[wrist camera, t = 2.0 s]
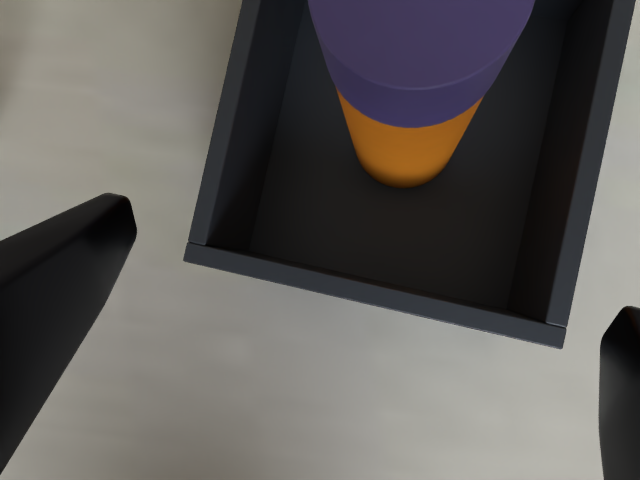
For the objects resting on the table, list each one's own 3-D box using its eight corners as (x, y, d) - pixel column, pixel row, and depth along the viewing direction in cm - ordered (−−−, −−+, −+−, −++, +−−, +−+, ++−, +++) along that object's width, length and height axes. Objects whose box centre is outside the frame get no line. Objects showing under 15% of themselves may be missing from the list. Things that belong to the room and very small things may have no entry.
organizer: (515, 327, 20) (562, 349, 14) (235, 262, 22) (182, 261, 16) (581, 15, 20) (653, -79, 15) (300, -26, 22) (270, -125, 16)
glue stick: (434, 203, 20) (491, 120, 9) (338, 170, 21) (274, 50, 9) (470, 107, 20) (573, -102, 9) (373, 76, 21) (352, -158, 9)
